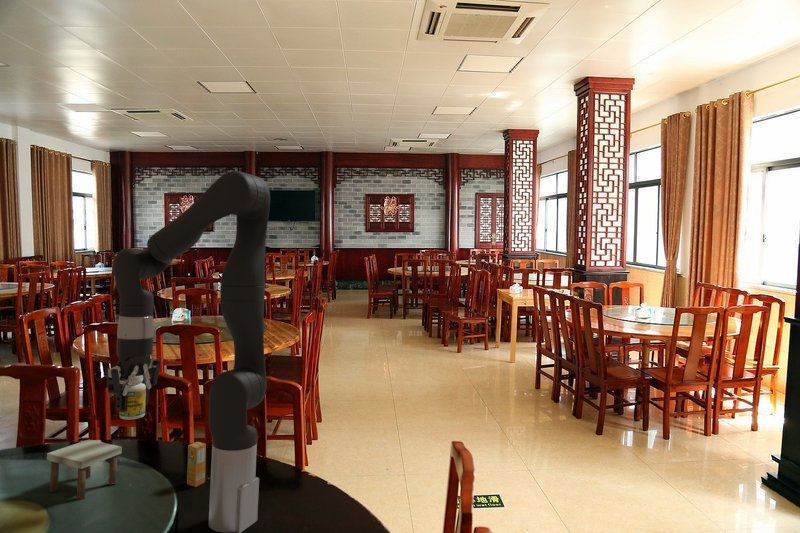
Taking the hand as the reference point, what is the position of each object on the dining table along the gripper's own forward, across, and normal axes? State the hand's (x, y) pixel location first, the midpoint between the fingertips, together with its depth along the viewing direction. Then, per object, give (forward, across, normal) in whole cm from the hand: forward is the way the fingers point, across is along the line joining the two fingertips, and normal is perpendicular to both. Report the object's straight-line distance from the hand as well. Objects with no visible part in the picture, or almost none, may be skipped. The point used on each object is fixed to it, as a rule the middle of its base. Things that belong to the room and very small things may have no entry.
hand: (132, 407), depth 125 cm
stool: (+21, 0, +14) cm, 25 cm away
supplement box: (+21, +13, -8) cm, 26 cm away
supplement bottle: (+2, 0, 0) cm, 2 cm away
